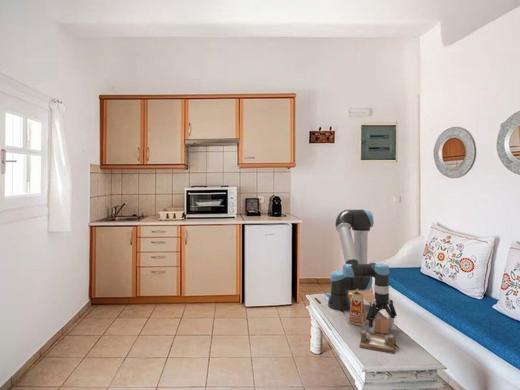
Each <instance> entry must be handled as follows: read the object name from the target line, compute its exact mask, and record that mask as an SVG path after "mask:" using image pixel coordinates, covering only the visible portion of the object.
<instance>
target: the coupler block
mask: <svg viewBox="0 0 520 390" xmlns="http://www.w3.org/2000/svg"><path fill="white" fill-rule="evenodd" d="M375 330H376V332H377V333H378V334H382V335H383V334H386V332H387V333H389V328H388V318H386V317H384V316H376V317H375V319H374V331H375Z"/></svg>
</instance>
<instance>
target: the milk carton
mask: <svg viewBox="0 0 520 390" xmlns="http://www.w3.org/2000/svg"><path fill="white" fill-rule="evenodd" d="M351 295H352V296H351V299H350V301H351V303H350V309H349V315H348V321H347V324H352V325H356V326H357V325H358V326H362V327H365V324H366V321H367V320H366V317H367V316H366V309H365V302H364V301H365V300H364V294H363V293H362V292H361V291H358V289H357V290H356V291H355V292H354V291H353V292H352V294H351Z"/></svg>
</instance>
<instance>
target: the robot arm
mask: <svg viewBox="0 0 520 390" xmlns="http://www.w3.org/2000/svg"><path fill="white" fill-rule="evenodd" d="M374 222H375V221H374V215H373V213H372V212H371V211H370V210H369V209H344V210H342V211H341V212H340V213H339V214H338V215H337V217H336V219H335V225H334V226H335V230H336V231H337V232H338V236H339V240H340V245H341V249H342V254H343V259H344V264H343V265H342V269H338V270H335V271H332V272H331V274H330V295H329V298H328V301H327V306H328V307H329V308H330V309H333V310H339V311H343V310H344V311H347V310H350V303H351V299H350V296H349V291H350V292H354V291H355V292H356V290H357V289H358V291H359V292H364V291H370V290H371V288H372V286H373V281H374V300H375V301H374V302H373V301H372V302H371V301H370V303H369V305H370V306H369V308H368V311H367V313H366V316H365V317H366V321H368V327H369V332H370V333H375V318H376V317H377V314H379V312H381V311H382V310H385V311H386V314H388V317H387V319H388V330H391V331H393V330H394V322H395V321H394V319H395V318H396V317H397V311H396V310H395V306H394V300H392V299H390V294H389V293H390V267H389V265H388V264H386V263H376V262H369V263H368V236H369V235H368V233H369V232H370V231H371V228H373V226H374V225H375V223H374ZM351 231H352V232H353V236H352V232H351ZM373 278H374V280H373Z"/></svg>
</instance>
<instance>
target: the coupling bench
mask: <svg viewBox="0 0 520 390" xmlns="http://www.w3.org/2000/svg"><path fill="white" fill-rule="evenodd" d="M395 339H396V338H395V336H394V334H393V333H388V335H387V334H383V333H382V334H381V333H376V332H374V333H371V332H370V331H367V330H366V329H362V330H361V332H360V341H359V348H362V349H368V350H373V351H378V352H384V353H389V354H394V353H395V341H396V340H395Z"/></svg>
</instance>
